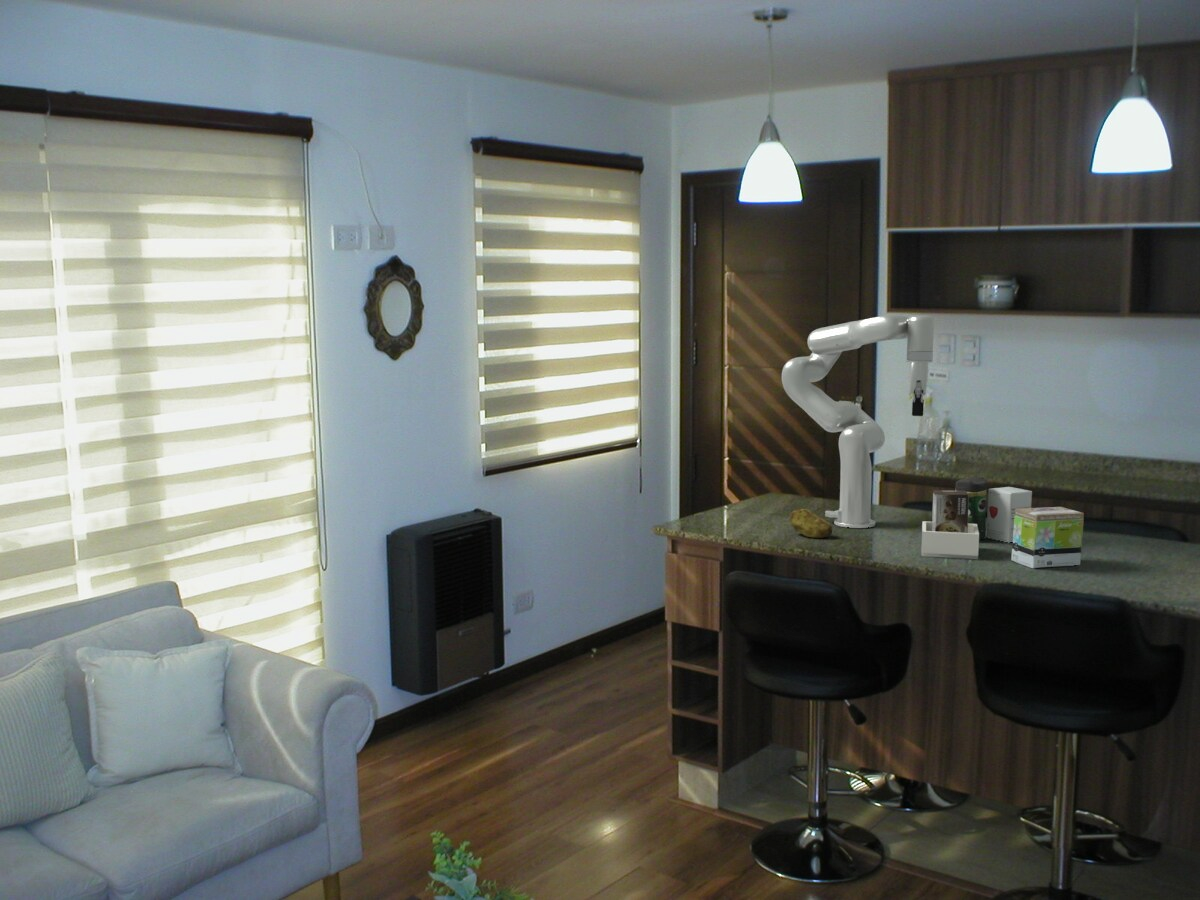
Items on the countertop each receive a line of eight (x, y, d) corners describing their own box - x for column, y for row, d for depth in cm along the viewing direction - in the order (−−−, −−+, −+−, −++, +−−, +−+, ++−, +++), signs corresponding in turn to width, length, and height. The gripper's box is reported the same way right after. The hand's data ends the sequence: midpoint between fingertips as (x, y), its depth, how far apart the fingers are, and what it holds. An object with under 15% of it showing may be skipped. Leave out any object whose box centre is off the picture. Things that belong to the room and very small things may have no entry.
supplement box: (984, 537, 349) (987, 488, 347) (1006, 535, 353) (1009, 486, 351) (1008, 543, 341) (1010, 493, 339) (1030, 540, 345) (1032, 490, 343)
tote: (921, 556, 325) (922, 531, 324) (921, 545, 339) (922, 521, 338) (978, 559, 321) (979, 534, 320) (975, 547, 335) (976, 523, 334)
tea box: (1033, 569, 309) (1036, 514, 307) (1010, 561, 319) (1013, 507, 317) (1082, 565, 314) (1085, 511, 312) (1057, 557, 323) (1060, 505, 321)
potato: (816, 541, 344) (817, 514, 343) (784, 534, 354) (784, 508, 353) (835, 537, 349) (836, 511, 348) (802, 531, 359) (803, 505, 358)
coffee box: (963, 546, 333) (966, 490, 331) (967, 551, 327) (969, 494, 324) (930, 545, 334) (932, 489, 332) (933, 550, 328) (935, 493, 326)
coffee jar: (964, 534, 353) (967, 474, 351) (989, 538, 348) (992, 477, 345) (948, 539, 346) (951, 477, 344) (973, 543, 341) (976, 480, 338)
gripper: (907, 355, 358) (905, 411, 360) (906, 358, 342) (904, 416, 344) (932, 355, 356) (930, 411, 358) (932, 358, 340) (930, 417, 342)
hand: (917, 414), depth 351 cm, fingers open, 9 cm apart
